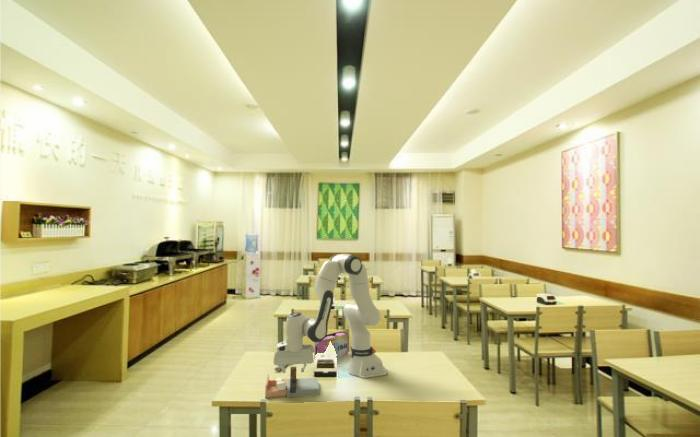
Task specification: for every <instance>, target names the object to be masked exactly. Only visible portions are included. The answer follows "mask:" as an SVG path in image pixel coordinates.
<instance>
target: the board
mask: <svg viewBox="0 0 700 437" xmlns="http://www.w3.org/2000/svg"><path fill="white" fill-rule="evenodd" d="M286 379H287V378H286ZM319 395H320V386H319V379H318V377H304V378H296V393H290V378H289V379H287V388H286V397H287V398H290V397H306V396H319Z"/></svg>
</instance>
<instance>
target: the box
mask: <svg viewBox="0 0 700 437" xmlns="http://www.w3.org/2000/svg"><path fill="white" fill-rule="evenodd" d="M284 380H285V383H286V389H284V390H278V391H277V389H276V379H270V374H267V376H266V380H265V381H266V382H265V388H264V389H265V393H264V395H265V396H264V397H265V399H271V398H286V397H287V378H285V379H283V378H282V381H284Z"/></svg>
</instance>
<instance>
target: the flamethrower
mask: <svg viewBox="0 0 700 437" xmlns="http://www.w3.org/2000/svg"><path fill="white" fill-rule="evenodd" d="M287 366H288V367H289V364H288V365H283V368H284V369H286V367H287ZM290 367H293V364H290ZM281 370H282V369H281V365H277V366H276V367H275V368H274V371H276V372H280V371H281Z"/></svg>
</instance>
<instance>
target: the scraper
mask: <svg viewBox="0 0 700 437" xmlns="http://www.w3.org/2000/svg"><path fill="white" fill-rule="evenodd" d="M289 370H290V374H289V376H290V378H289V379H290V393H296V379H297V366H290V369H289Z"/></svg>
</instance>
